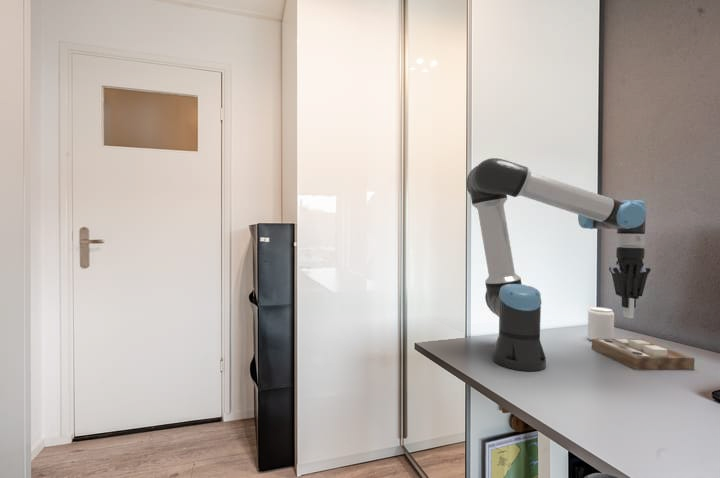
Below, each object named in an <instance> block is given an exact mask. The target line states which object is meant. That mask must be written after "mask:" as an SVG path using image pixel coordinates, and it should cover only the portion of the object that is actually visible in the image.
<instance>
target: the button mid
mask: <svg viewBox="0 0 720 478" xmlns="http://www.w3.org/2000/svg"><path fill="white" fill-rule="evenodd" d="M644 345H651V343H648V342H645V341H642V340H628V346H629V347H632V348H634V349H637V350H643V347H644Z"/></svg>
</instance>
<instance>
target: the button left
mask: <svg viewBox="0 0 720 478" xmlns="http://www.w3.org/2000/svg"><path fill="white" fill-rule="evenodd" d="M614 339H615V341H617V342H619V343H622V344H628V340H627V339H628V338H614Z"/></svg>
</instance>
